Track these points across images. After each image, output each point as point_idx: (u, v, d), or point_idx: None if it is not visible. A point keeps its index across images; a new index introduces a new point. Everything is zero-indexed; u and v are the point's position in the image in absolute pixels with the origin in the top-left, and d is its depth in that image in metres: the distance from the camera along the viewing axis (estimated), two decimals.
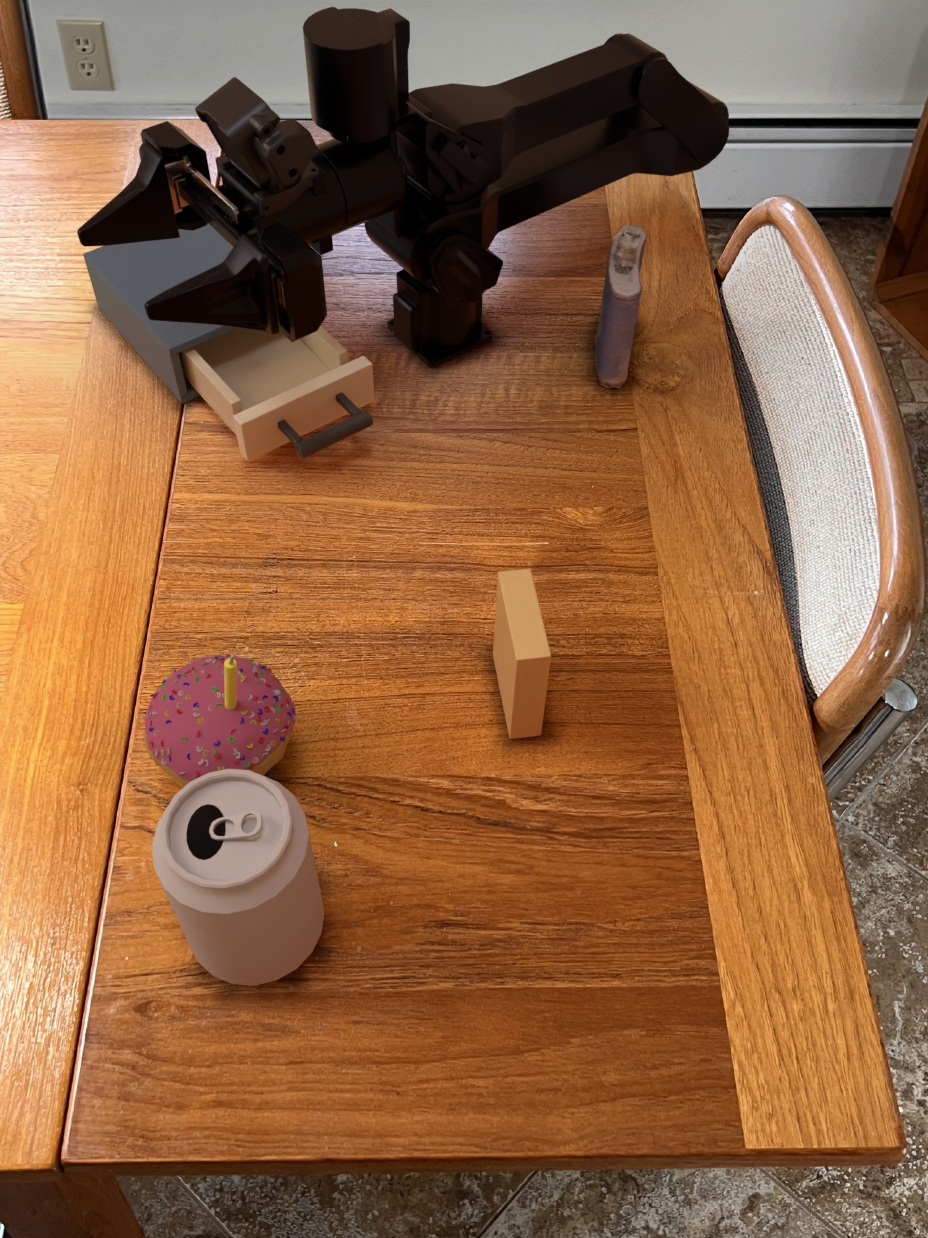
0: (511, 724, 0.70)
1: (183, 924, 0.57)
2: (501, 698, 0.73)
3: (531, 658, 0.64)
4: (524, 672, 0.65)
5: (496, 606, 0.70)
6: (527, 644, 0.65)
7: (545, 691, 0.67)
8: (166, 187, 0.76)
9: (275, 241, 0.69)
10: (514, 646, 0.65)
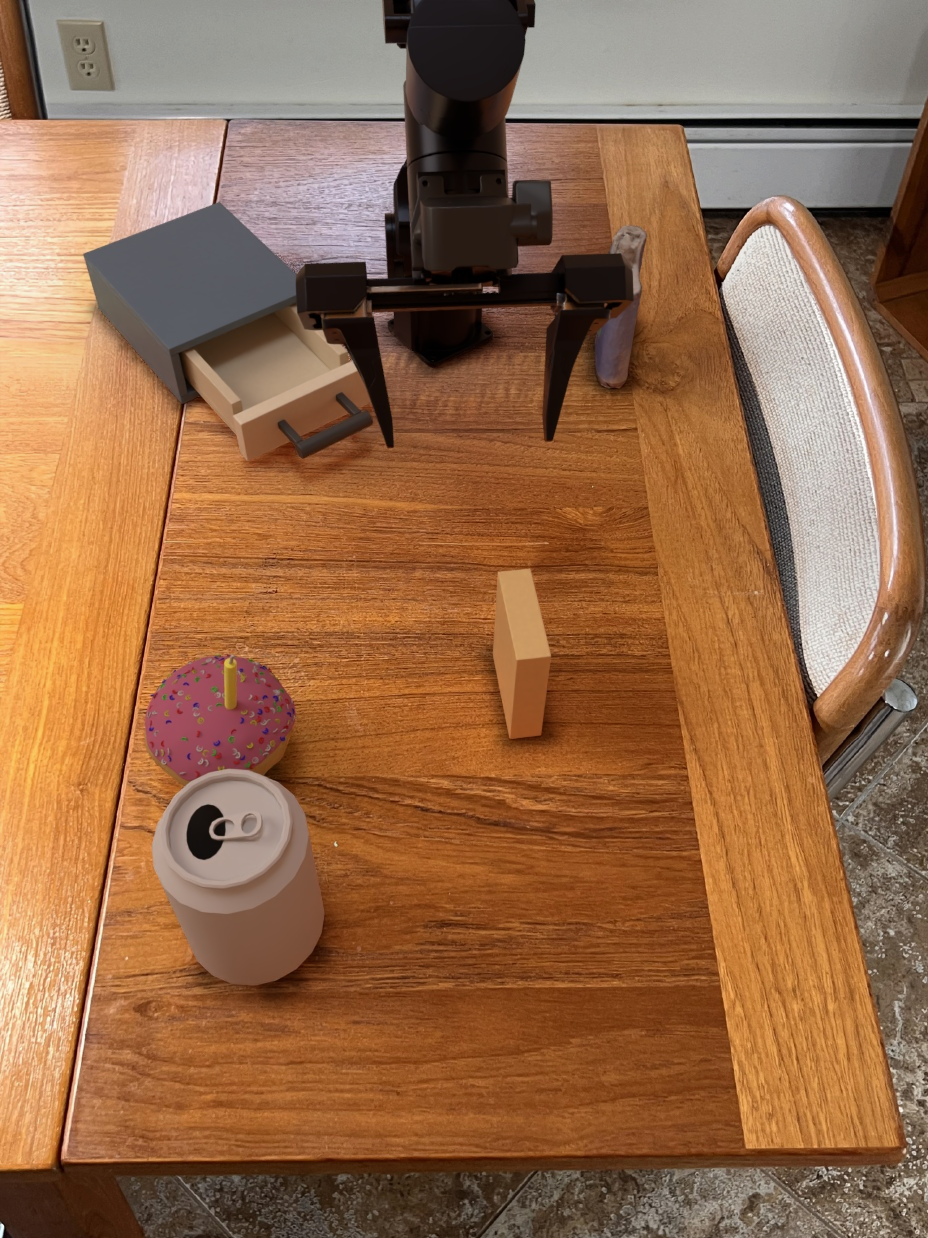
0: (511, 724, 0.70)
1: (183, 924, 0.57)
2: (501, 698, 0.73)
3: (531, 658, 0.64)
4: (524, 672, 0.65)
5: (496, 606, 0.70)
6: (527, 644, 0.65)
7: (545, 691, 0.67)
8: None
9: (594, 288, 0.63)
10: (514, 646, 0.65)
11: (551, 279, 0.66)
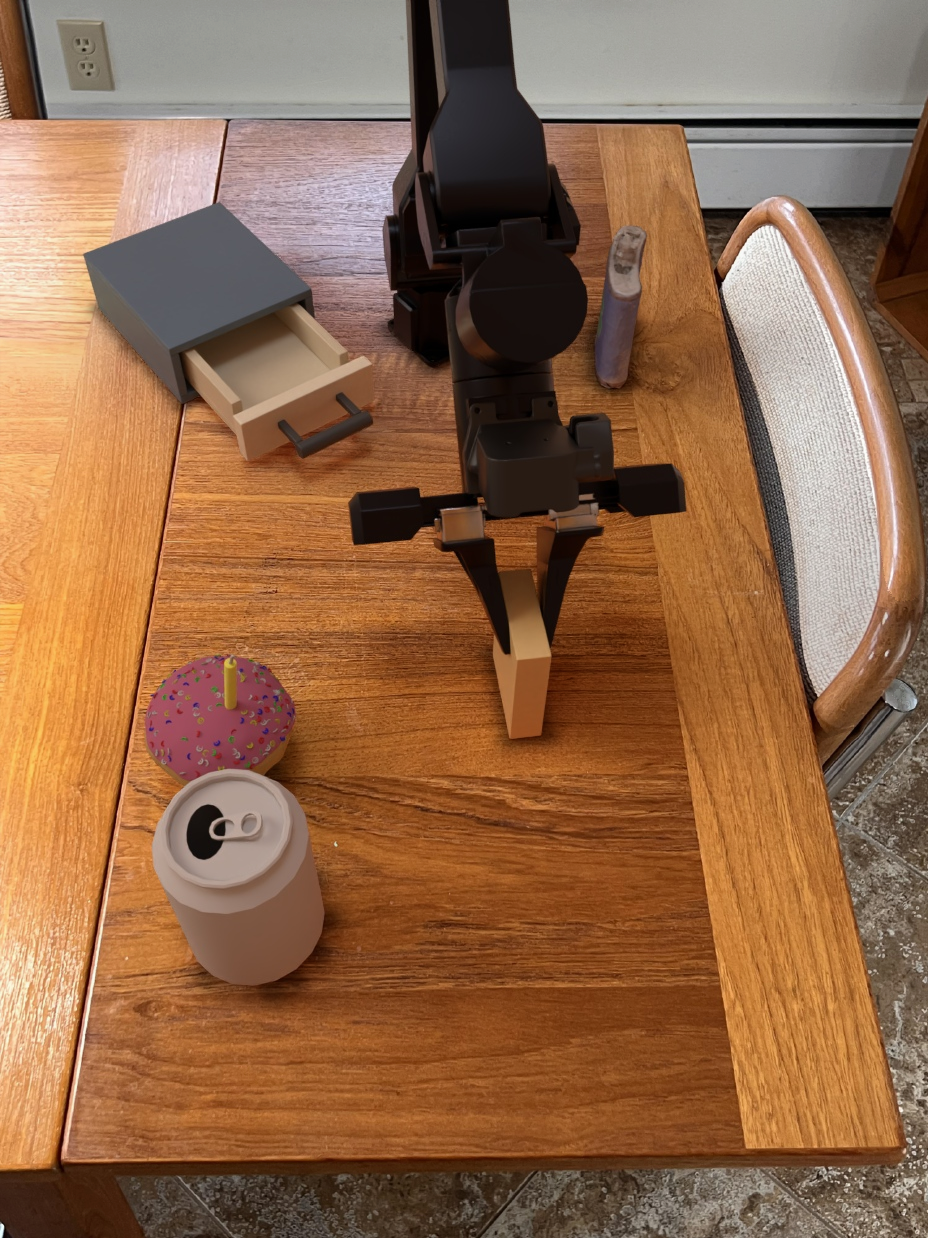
0: (511, 724, 0.70)
1: (183, 924, 0.57)
2: (501, 697, 0.73)
3: (532, 658, 0.64)
4: (524, 672, 0.65)
5: None
6: (528, 644, 0.65)
7: (545, 691, 0.67)
8: None
9: (648, 503, 0.64)
10: (514, 646, 0.65)
11: (601, 486, 0.66)
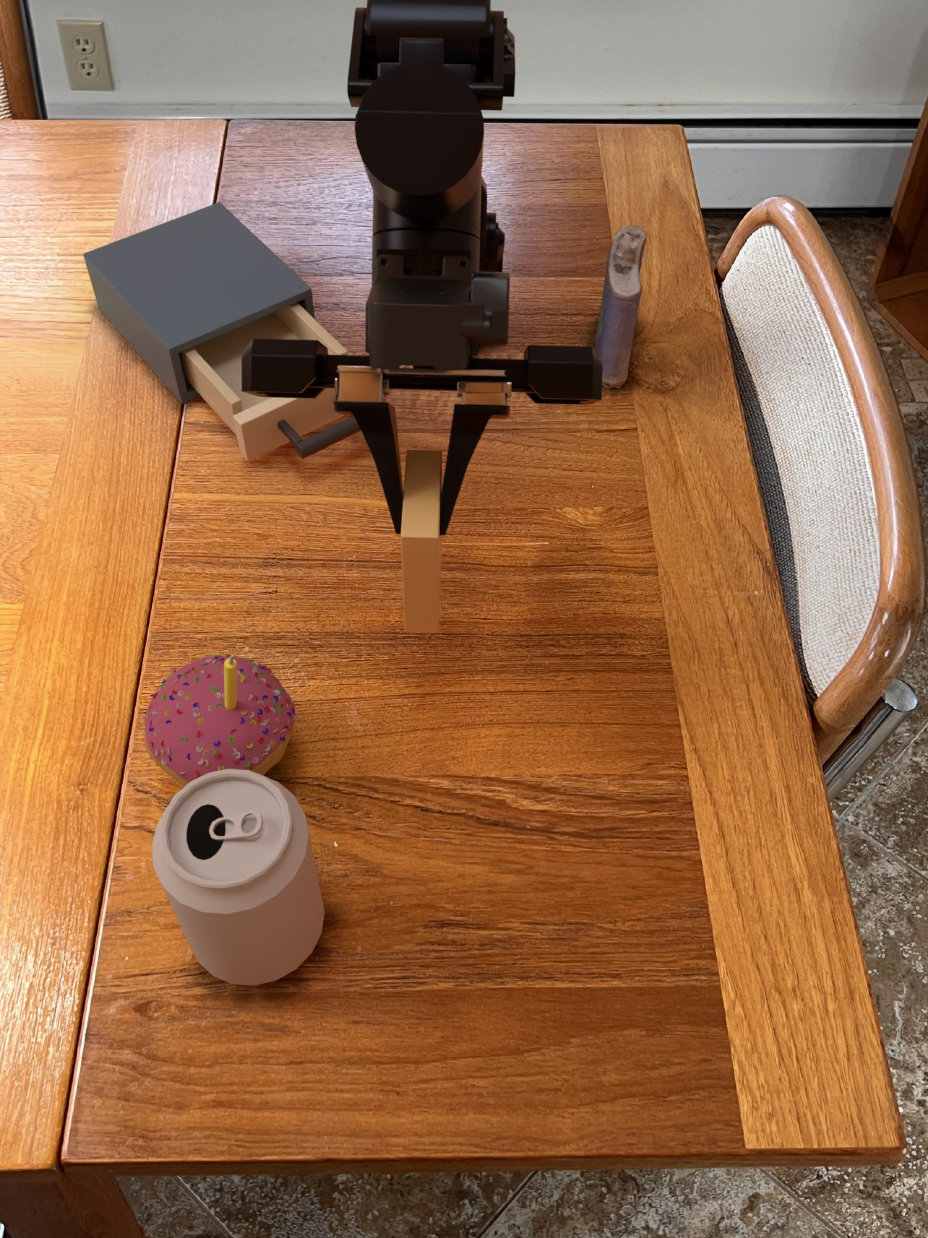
0: (404, 614, 0.66)
1: (183, 924, 0.57)
2: None
3: (417, 536, 0.61)
4: (410, 552, 0.62)
5: None
6: (416, 523, 0.61)
7: (437, 579, 0.63)
8: (391, 408, 0.61)
9: (558, 385, 0.59)
10: (402, 523, 0.61)
11: (518, 366, 0.61)
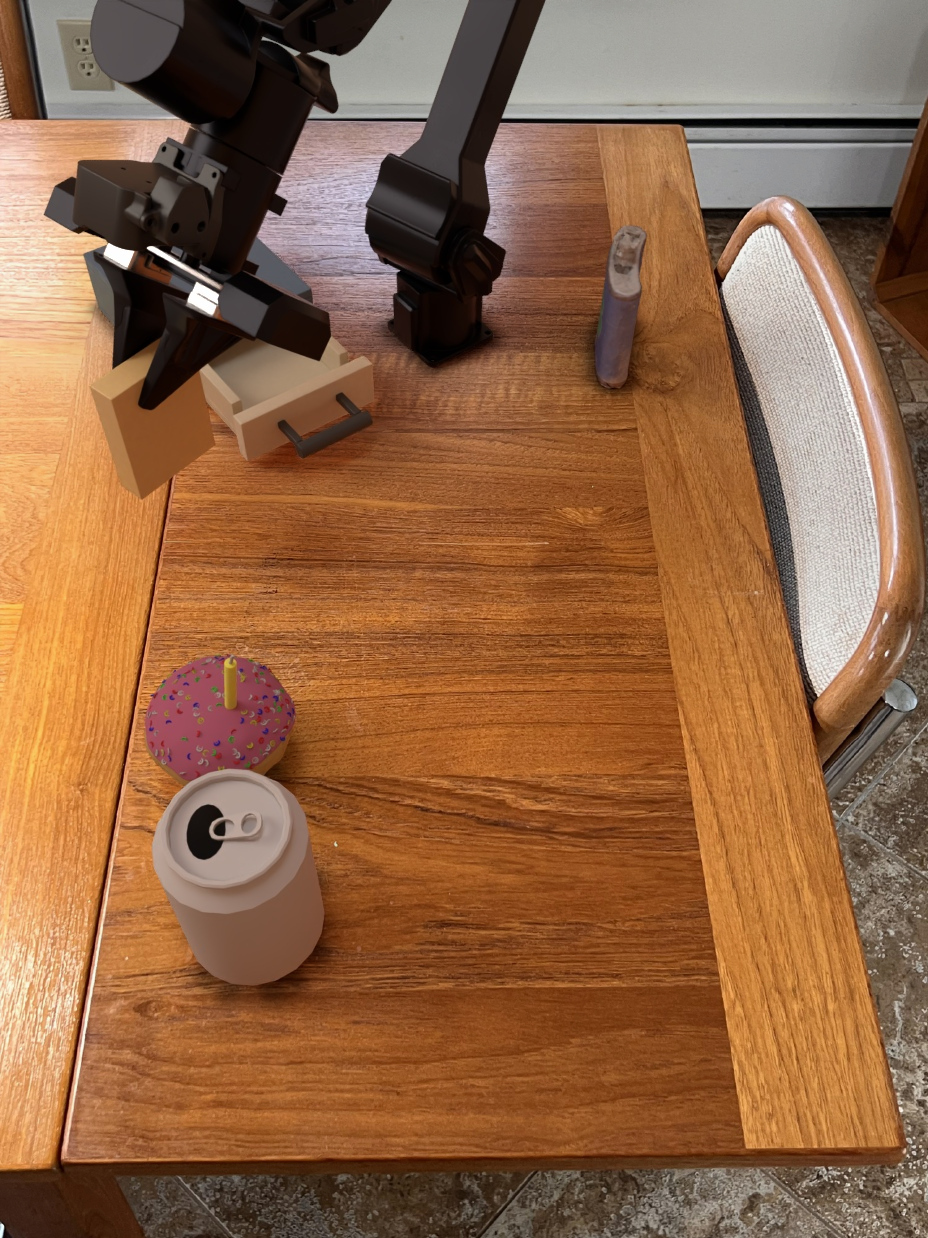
0: (115, 467, 0.73)
1: (183, 924, 0.57)
2: None
3: (98, 391, 0.67)
4: (99, 405, 0.68)
5: None
6: (110, 382, 0.67)
7: (124, 443, 0.69)
8: (145, 281, 0.68)
9: (237, 312, 0.62)
10: (101, 377, 0.68)
11: None
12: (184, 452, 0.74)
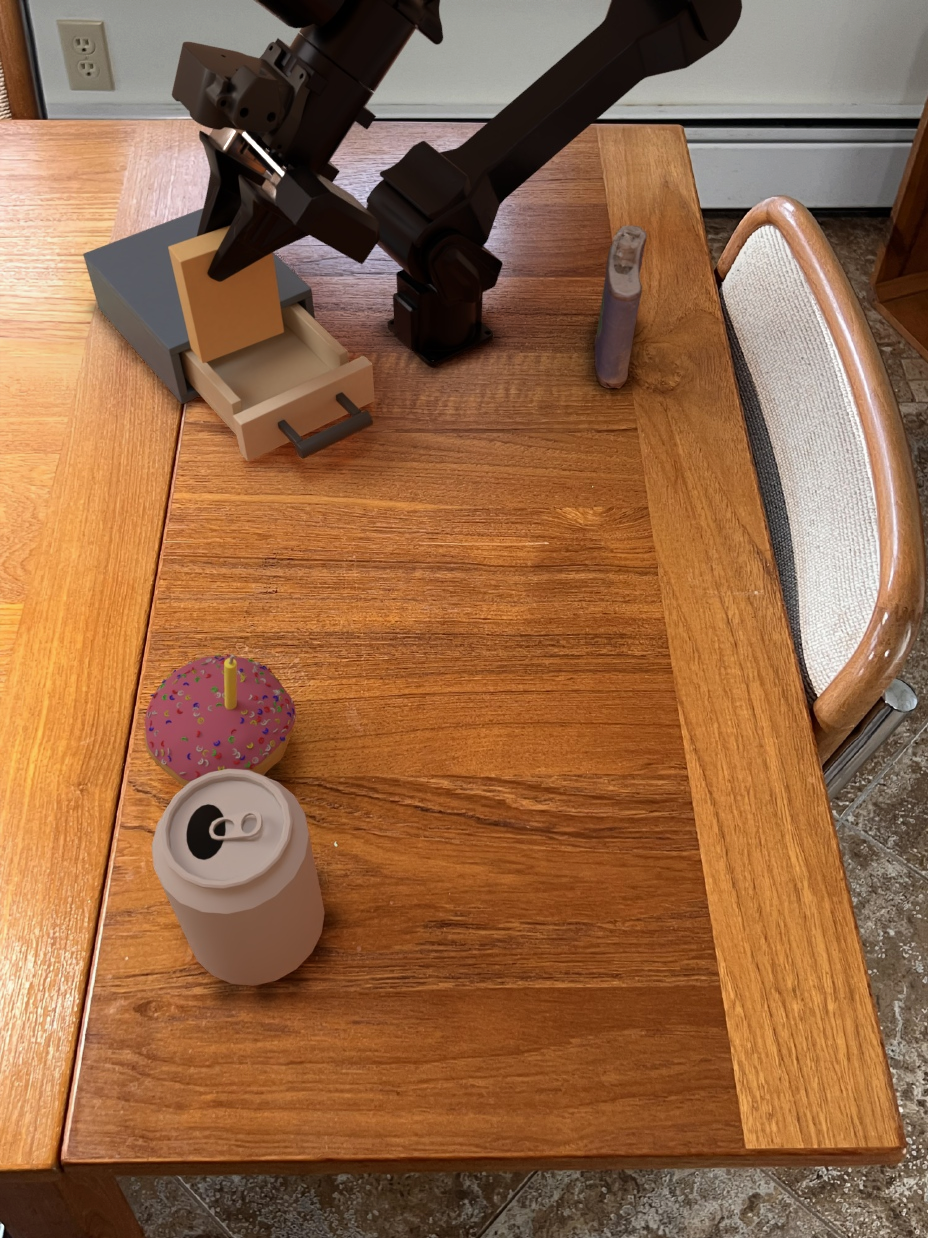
0: (187, 329, 0.81)
1: (183, 924, 0.57)
2: None
3: (173, 253, 0.75)
4: (174, 266, 0.76)
5: None
6: (186, 247, 0.76)
7: (189, 306, 0.78)
8: (238, 166, 0.75)
9: (287, 200, 0.69)
10: (181, 242, 0.76)
11: None
12: (250, 330, 0.82)
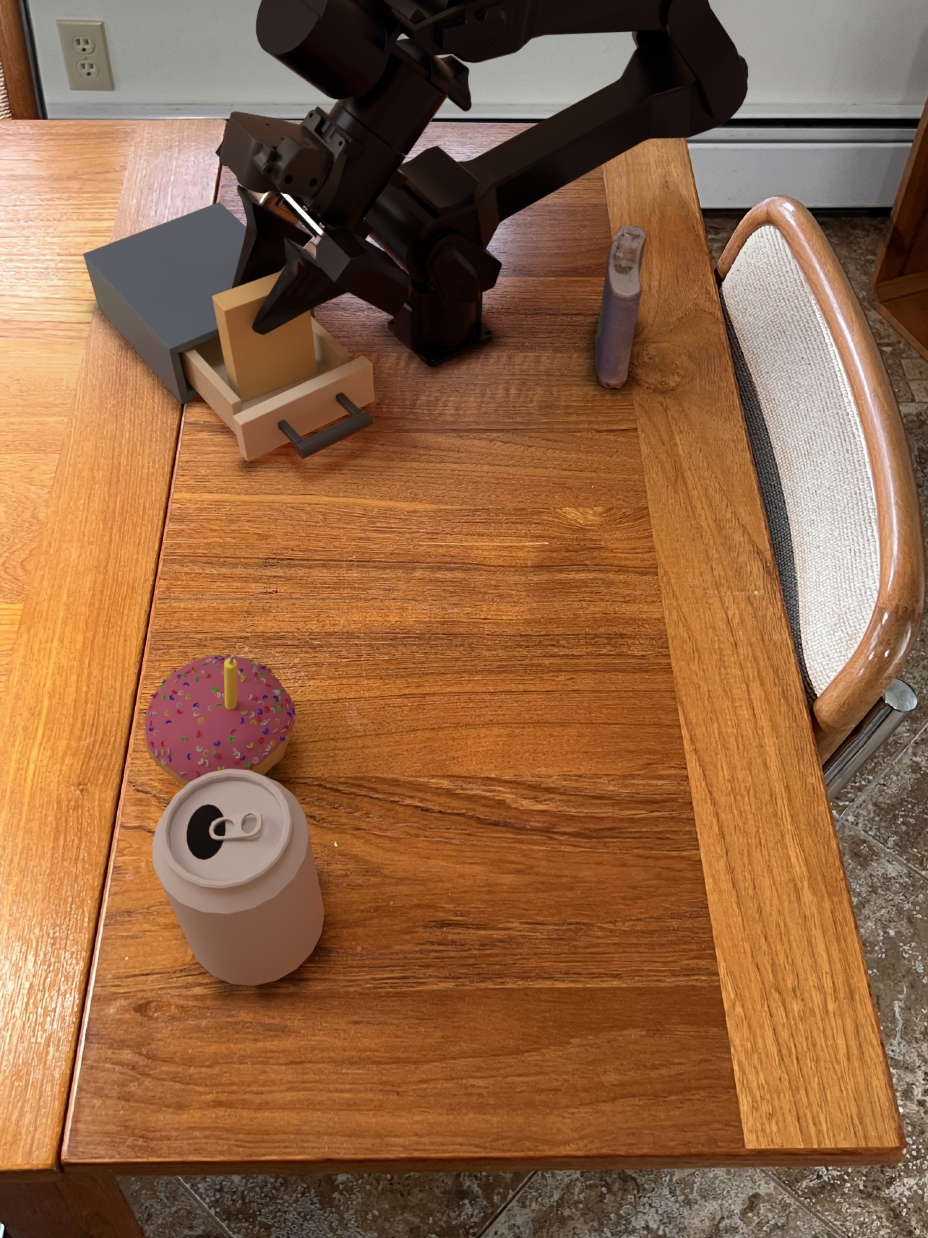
0: (226, 371, 0.86)
1: (183, 924, 0.57)
2: None
3: (217, 302, 0.80)
4: (217, 314, 0.81)
5: None
6: (229, 297, 0.80)
7: (231, 350, 0.82)
8: (273, 217, 0.81)
9: (327, 259, 0.74)
10: (224, 291, 0.81)
11: None
12: (286, 372, 0.87)
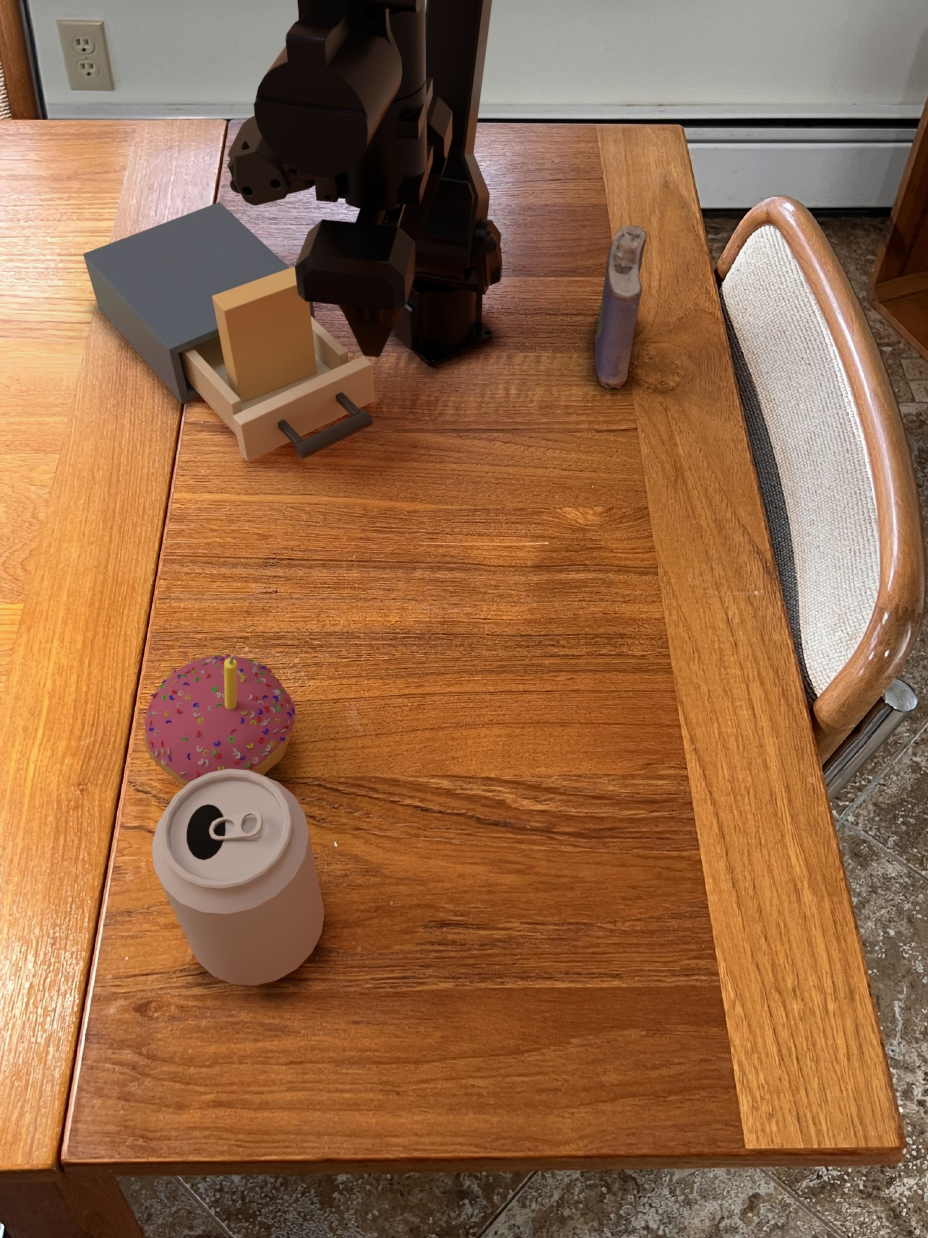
0: (226, 371, 0.86)
1: (183, 924, 0.57)
2: None
3: (217, 302, 0.80)
4: (217, 314, 0.81)
5: None
6: (229, 297, 0.80)
7: (231, 350, 0.82)
8: None
9: None
10: (224, 291, 0.81)
11: None
12: (286, 372, 0.87)
